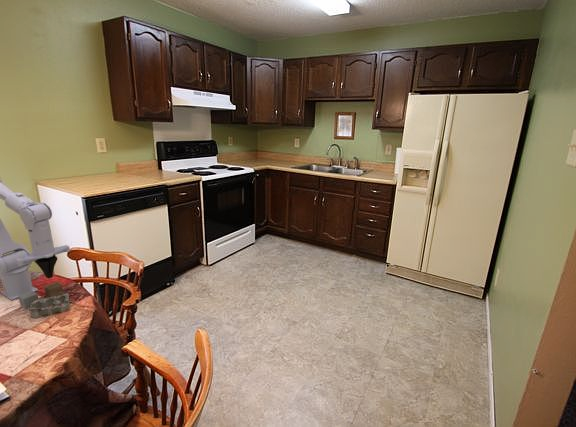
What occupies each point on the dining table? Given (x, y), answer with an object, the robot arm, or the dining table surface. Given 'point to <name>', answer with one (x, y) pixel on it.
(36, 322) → the dining table surface
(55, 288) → the walnut block
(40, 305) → the grey piece
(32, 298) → the slate-grey block
